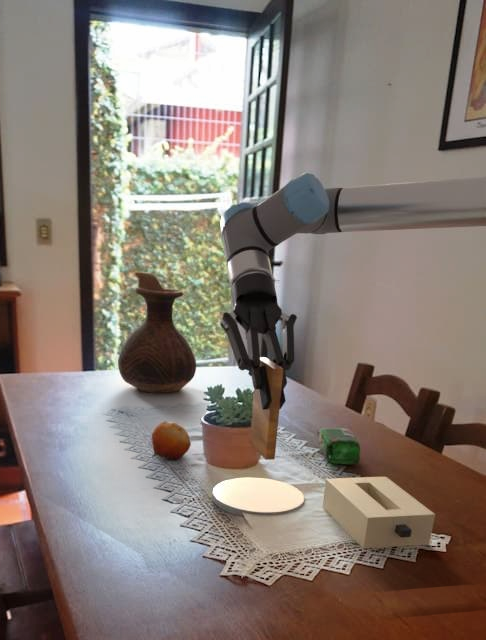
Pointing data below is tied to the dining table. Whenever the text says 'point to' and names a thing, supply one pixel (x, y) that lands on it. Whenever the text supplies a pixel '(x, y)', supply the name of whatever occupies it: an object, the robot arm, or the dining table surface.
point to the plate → (256, 496)
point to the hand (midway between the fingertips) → (274, 405)
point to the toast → (267, 412)
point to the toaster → (377, 512)
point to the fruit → (170, 441)
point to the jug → (157, 344)
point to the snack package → (339, 446)
